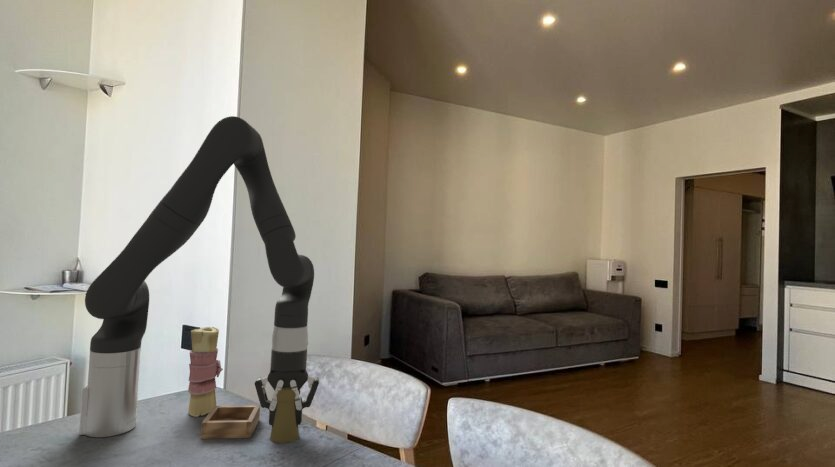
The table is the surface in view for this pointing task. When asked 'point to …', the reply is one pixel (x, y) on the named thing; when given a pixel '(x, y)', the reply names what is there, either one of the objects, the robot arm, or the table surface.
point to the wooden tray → (230, 422)
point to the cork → (285, 417)
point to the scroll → (203, 370)
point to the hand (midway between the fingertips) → (285, 426)
